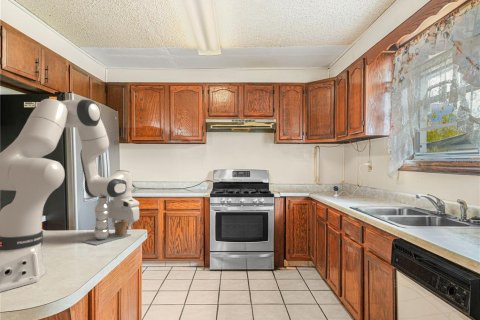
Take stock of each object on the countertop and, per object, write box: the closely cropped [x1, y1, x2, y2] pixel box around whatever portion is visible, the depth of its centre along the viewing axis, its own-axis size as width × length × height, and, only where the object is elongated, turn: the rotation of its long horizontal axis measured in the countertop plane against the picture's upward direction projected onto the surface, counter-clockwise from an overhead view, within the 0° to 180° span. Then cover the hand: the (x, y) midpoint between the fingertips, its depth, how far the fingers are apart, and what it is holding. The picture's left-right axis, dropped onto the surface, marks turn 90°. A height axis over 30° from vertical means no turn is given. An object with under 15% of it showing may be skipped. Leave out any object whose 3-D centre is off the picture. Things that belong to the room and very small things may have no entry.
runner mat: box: [81, 220, 132, 246], centre depth 137 cm, size 20×10×6 cm, turn 154°
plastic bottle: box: [93, 197, 110, 240], centre depth 134 cm, size 6×7×20 cm
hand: (122, 228), depth 145 cm, fingers open, 8 cm apart
